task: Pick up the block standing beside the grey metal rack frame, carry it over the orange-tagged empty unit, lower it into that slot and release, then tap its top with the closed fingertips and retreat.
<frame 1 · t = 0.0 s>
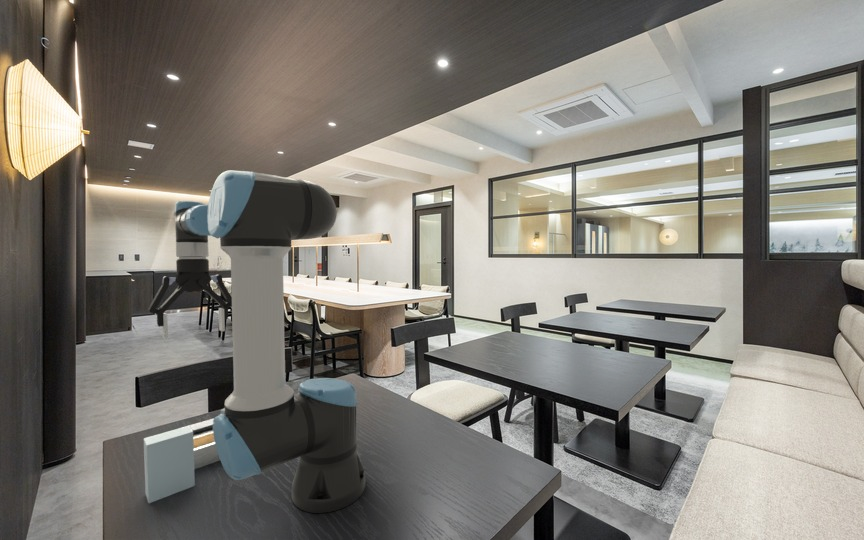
hand: (194, 334, 102), 28 cm above the table, fingers open, 13 cm apart
block: (170, 490, 78), on the table
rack: (203, 451, 93), on the table
electronic device: (261, 409, 120), on the table
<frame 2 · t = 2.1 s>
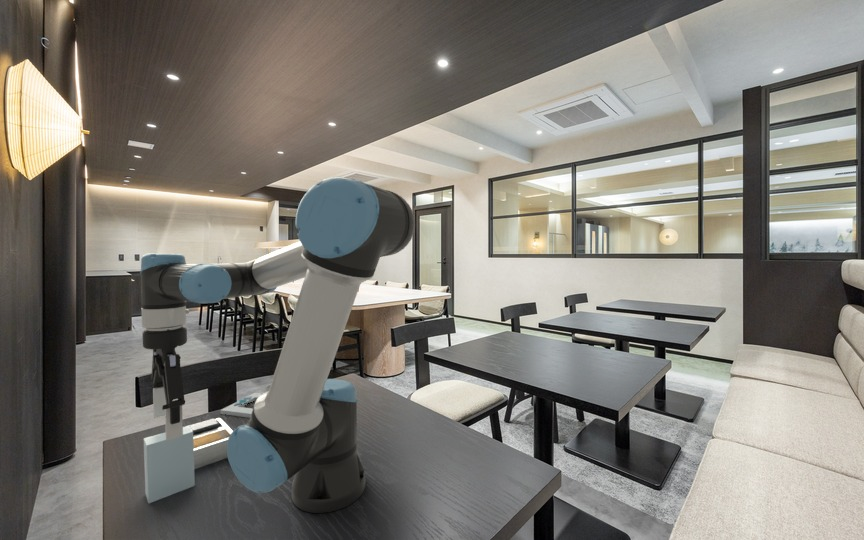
hand: (167, 426, 78), 14 cm above the table, fingers open, 13 cm apart
nothing on the table moved.
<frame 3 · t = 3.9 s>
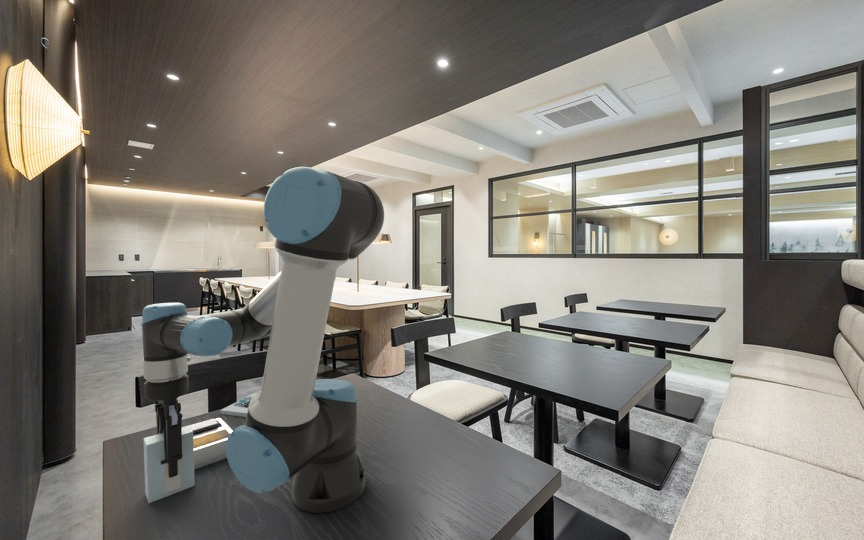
hand: (170, 484, 78), 1 cm above the table, fingers closed on block, 4 cm apart
block: (170, 489, 78), on the table, touching gripper
everything else where it was.
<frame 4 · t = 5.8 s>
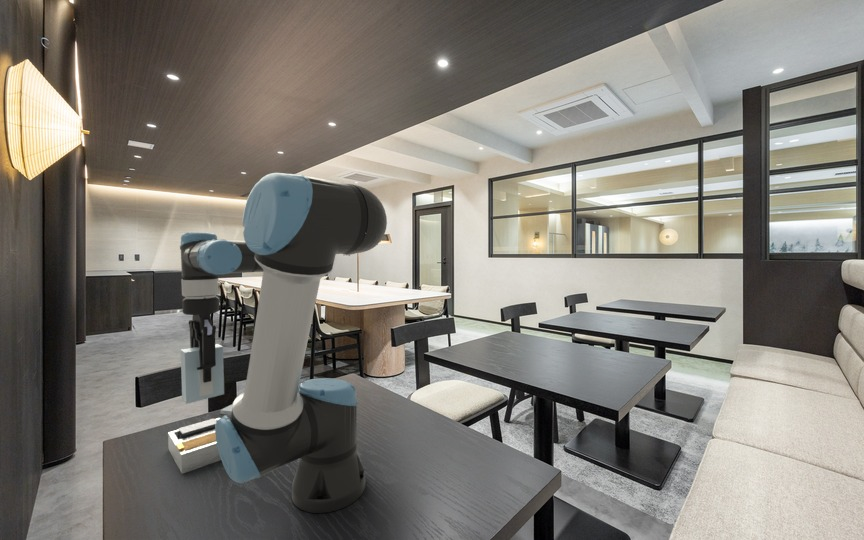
hand: (203, 391, 89), 17 cm above the table, fingers closed on block, 4 cm apart
block: (203, 396, 89), point 15 cm above the table, touching gripper
everything else where it was.
when the fingers open (6 cm above the table, at t = 8.0 s): block drops 3 cm, resting on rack.
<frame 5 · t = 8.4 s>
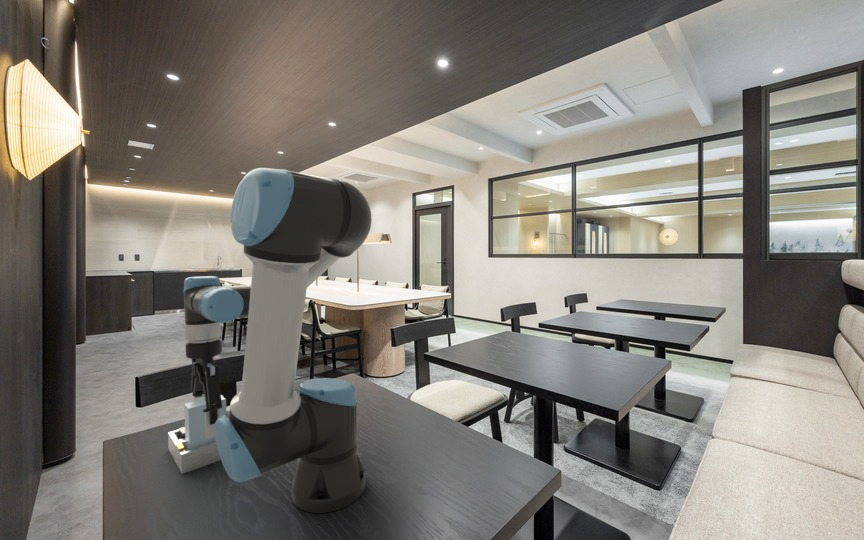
hand: (206, 428, 90), 7 cm above the table, fingers open, 10 cm apart
block: (206, 449, 90), point 2 cm above the table, touching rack
everything else where it was.
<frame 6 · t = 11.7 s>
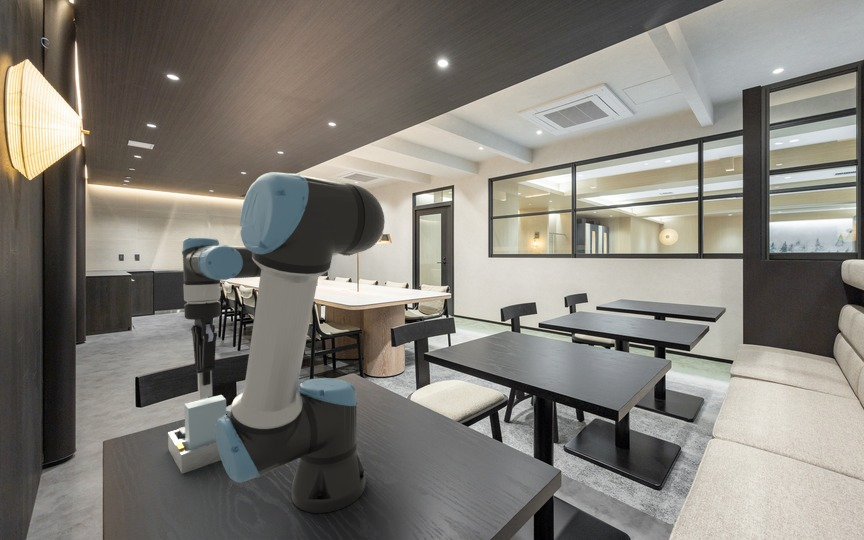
hand: (205, 396, 90), 15 cm above the table, fingers closed
nothing on the table moved.
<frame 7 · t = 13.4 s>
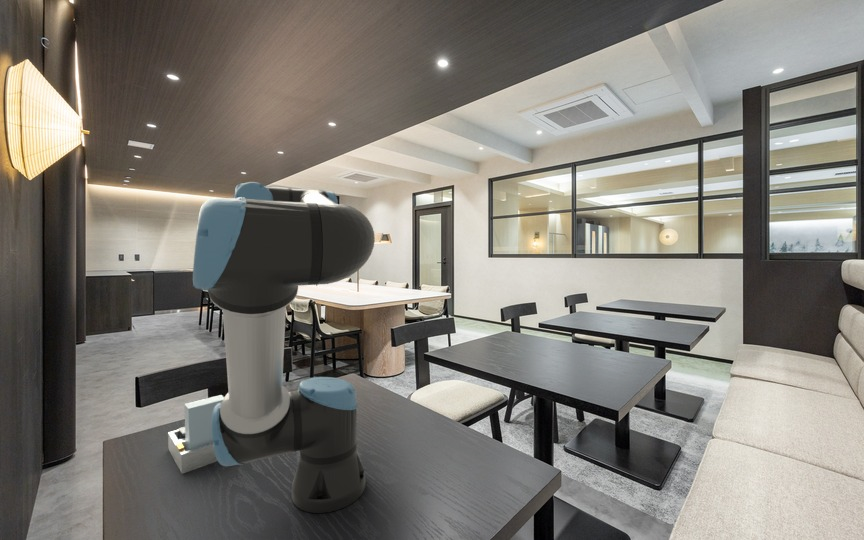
hand: (255, 341, 92), 28 cm above the table, fingers closed
nothing on the table moved.
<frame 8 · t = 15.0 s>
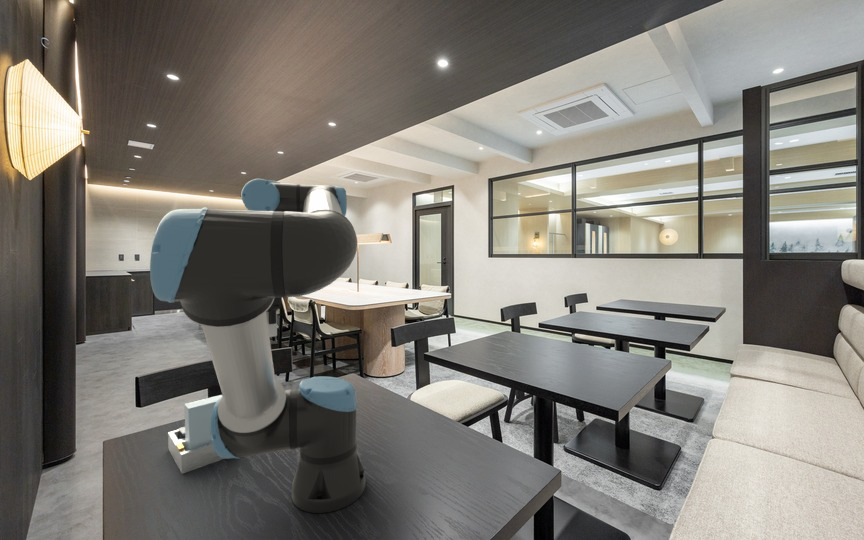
hand: (270, 336, 93), 29 cm above the table, fingers closed
nothing on the table moved.
at the end: block 0.0 cm from the target spot on the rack, point 2.1 cm above the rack's base; block tilted 0°; the gripper is holding nothing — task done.
